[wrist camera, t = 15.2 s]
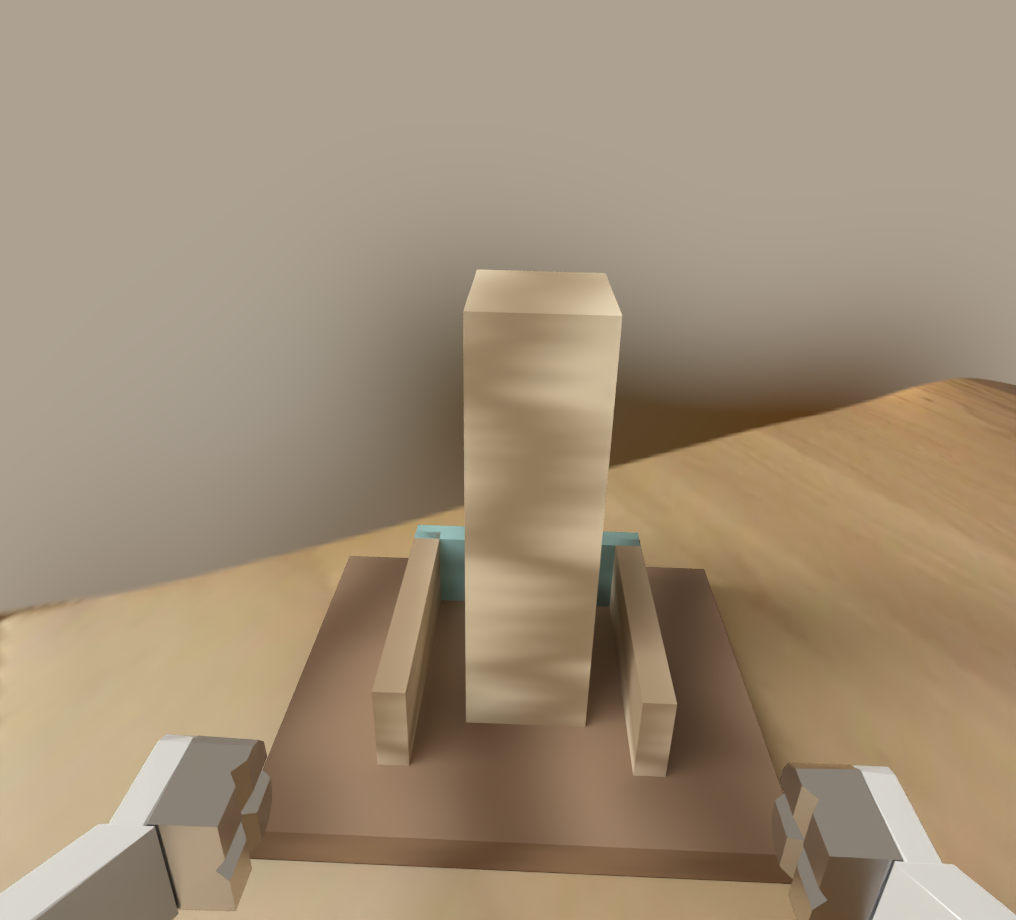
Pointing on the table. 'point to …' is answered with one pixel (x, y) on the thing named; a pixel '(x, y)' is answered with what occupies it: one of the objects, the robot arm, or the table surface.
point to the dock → (523, 736)
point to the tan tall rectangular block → (535, 488)
